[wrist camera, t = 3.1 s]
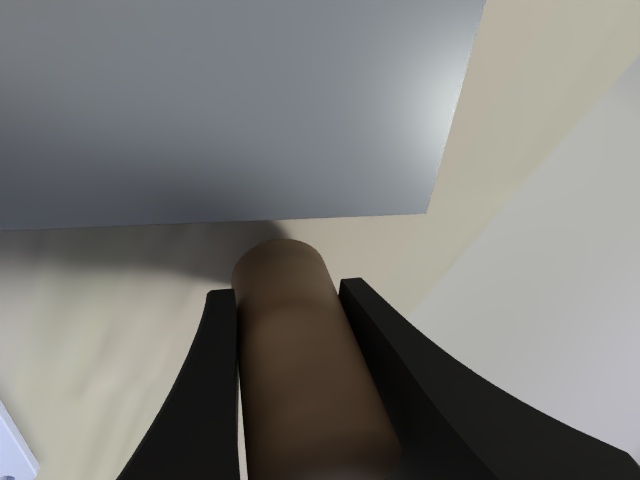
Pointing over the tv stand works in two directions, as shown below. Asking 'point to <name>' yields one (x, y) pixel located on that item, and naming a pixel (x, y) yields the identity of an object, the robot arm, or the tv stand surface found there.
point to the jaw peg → (304, 374)
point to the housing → (225, 108)
